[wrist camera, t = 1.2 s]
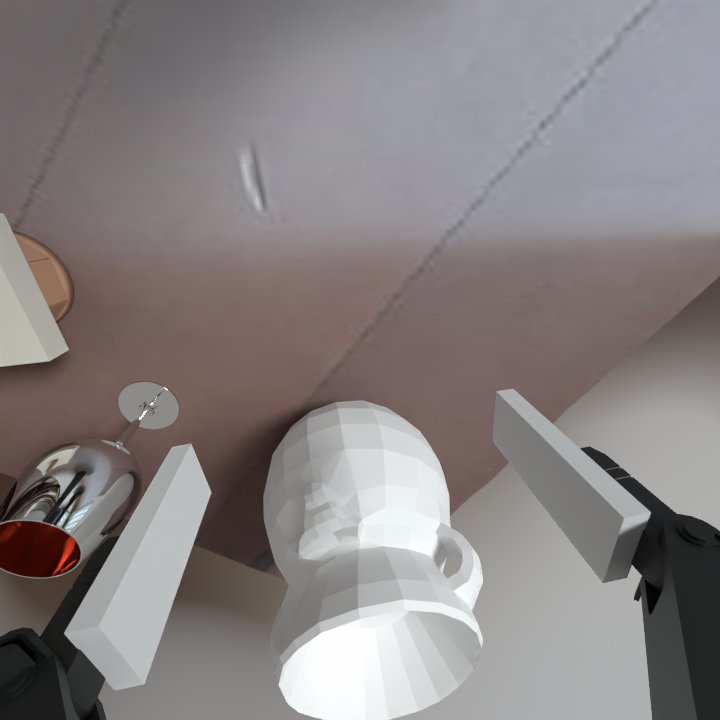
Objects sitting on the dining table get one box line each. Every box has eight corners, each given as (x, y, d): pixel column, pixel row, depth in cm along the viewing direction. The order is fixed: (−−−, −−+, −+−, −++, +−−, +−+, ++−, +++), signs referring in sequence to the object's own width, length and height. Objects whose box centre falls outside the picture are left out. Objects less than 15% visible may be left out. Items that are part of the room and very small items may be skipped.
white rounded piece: (380, 345, 39) (473, 534, 17) (435, 451, 47) (548, 676, 24) (243, 416, 41) (158, 677, 18) (318, 507, 48) (325, 768, 26)
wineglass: (172, 367, 37) (64, 493, 21) (198, 427, 40) (123, 574, 24) (96, 381, 36) (-76, 521, 20) (129, 440, 40) (5, 600, 24)
